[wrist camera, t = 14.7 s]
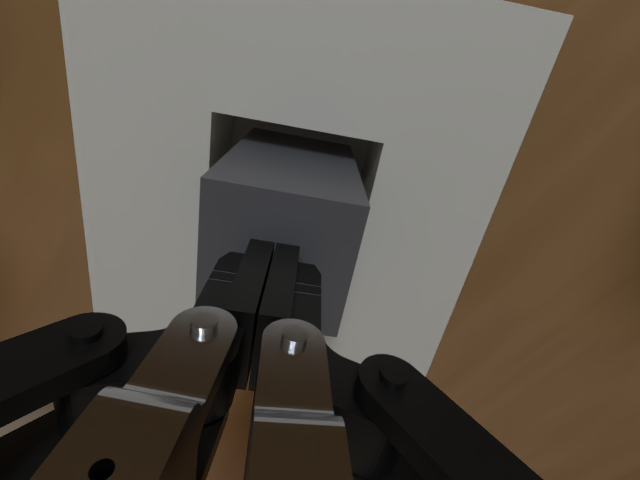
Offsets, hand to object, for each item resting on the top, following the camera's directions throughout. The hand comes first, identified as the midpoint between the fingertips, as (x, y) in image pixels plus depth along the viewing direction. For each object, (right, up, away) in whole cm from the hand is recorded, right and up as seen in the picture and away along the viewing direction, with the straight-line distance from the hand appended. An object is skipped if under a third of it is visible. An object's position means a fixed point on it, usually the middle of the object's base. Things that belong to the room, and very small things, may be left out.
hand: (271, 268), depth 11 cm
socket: (0, +4, +9) cm, 10 cm away
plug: (0, +4, +9) cm, 9 cm away
